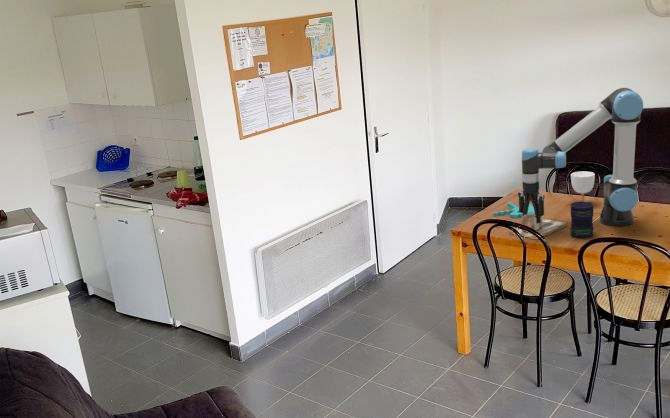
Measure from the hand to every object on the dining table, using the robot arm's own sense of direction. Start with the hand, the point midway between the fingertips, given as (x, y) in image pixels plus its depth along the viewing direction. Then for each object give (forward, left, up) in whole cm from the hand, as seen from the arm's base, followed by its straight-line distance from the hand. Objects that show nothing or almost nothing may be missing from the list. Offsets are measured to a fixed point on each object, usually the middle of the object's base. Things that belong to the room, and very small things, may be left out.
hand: (531, 228), depth 316 cm
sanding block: (0, 0, 0) cm, 0 cm away
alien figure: (+25, -23, -3) cm, 33 cm away
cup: (+4, -50, -2) cm, 50 cm away
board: (0, -5, -2) cm, 5 cm away
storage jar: (-21, -10, -2) cm, 23 cm away
